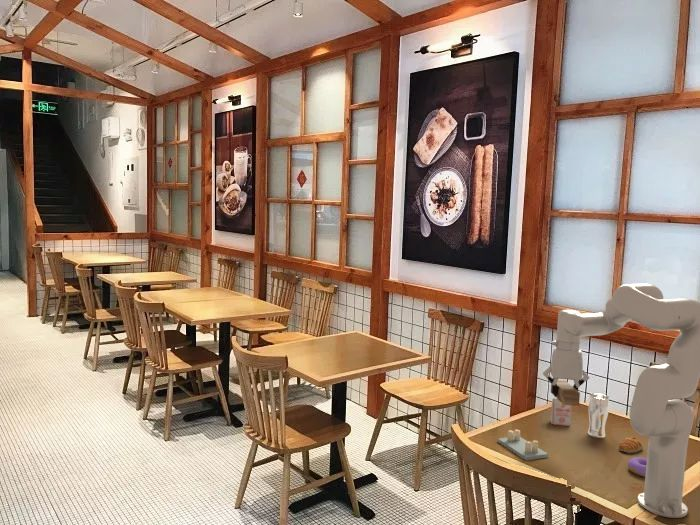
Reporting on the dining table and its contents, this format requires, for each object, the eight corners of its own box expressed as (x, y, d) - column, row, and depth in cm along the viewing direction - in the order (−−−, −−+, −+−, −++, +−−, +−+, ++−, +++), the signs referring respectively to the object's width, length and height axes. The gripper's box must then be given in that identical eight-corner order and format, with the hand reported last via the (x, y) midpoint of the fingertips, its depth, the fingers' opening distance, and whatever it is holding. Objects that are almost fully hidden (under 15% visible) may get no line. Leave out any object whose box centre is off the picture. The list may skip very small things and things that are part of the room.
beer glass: (585, 435, 213) (588, 397, 212) (587, 429, 220) (590, 392, 218) (605, 439, 210) (608, 400, 209) (607, 433, 216) (610, 395, 215)
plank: (579, 405, 192) (579, 392, 192) (564, 405, 192) (564, 392, 192) (564, 392, 206) (565, 380, 205) (550, 392, 206) (551, 380, 206)
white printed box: (550, 421, 228) (552, 396, 227) (568, 422, 227) (569, 398, 226) (552, 424, 224) (553, 399, 223) (570, 426, 223) (571, 401, 222)
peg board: (547, 457, 193) (548, 444, 193) (525, 460, 190) (526, 447, 190) (518, 439, 208) (519, 426, 208) (497, 441, 205) (498, 429, 205)
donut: (630, 461, 192) (635, 448, 191) (660, 475, 186) (664, 462, 185) (622, 471, 184) (627, 458, 183) (653, 486, 179) (658, 473, 177)
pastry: (633, 456, 197) (634, 446, 196) (613, 450, 202) (614, 440, 201) (643, 449, 203) (644, 439, 203) (624, 443, 208) (625, 433, 208)
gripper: (542, 346, 195) (539, 397, 197) (596, 350, 192) (592, 402, 193) (540, 341, 203) (537, 391, 204) (592, 345, 199) (588, 395, 201)
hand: (564, 396), depth 199 cm, fingers closed on plank, 5 cm apart
